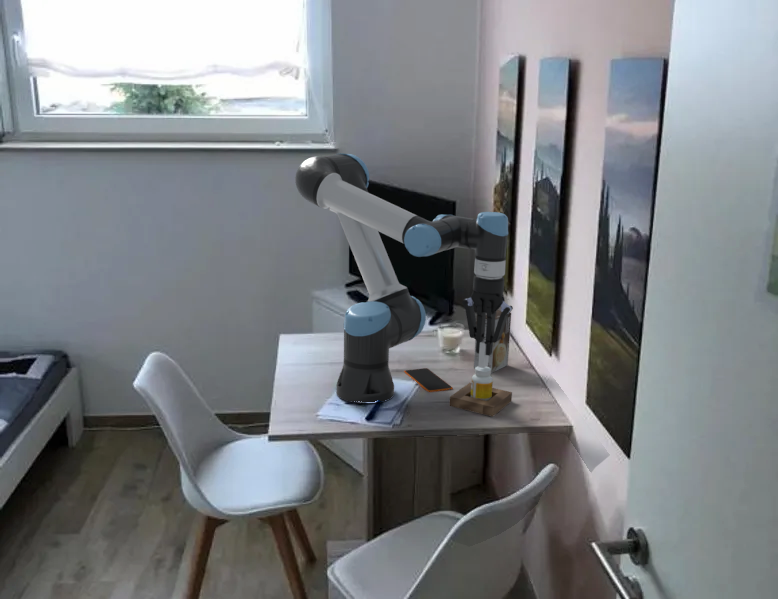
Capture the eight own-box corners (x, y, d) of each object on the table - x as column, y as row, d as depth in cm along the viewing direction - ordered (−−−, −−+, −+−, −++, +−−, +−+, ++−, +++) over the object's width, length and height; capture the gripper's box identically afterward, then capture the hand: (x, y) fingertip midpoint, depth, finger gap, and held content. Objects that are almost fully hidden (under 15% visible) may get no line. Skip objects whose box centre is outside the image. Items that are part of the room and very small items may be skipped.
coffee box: (489, 360, 249) (492, 308, 245) (508, 365, 245) (512, 312, 241) (472, 368, 242) (476, 314, 238) (492, 373, 238) (495, 319, 234)
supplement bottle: (465, 402, 217) (467, 367, 214) (480, 398, 220) (482, 363, 218) (480, 409, 213) (483, 373, 210) (495, 404, 216) (497, 369, 214)
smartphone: (427, 370, 241) (427, 367, 240) (453, 390, 226) (453, 387, 226) (402, 372, 238) (402, 369, 237) (428, 394, 223) (428, 391, 223)
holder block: (449, 405, 215) (449, 396, 214) (469, 391, 225) (469, 382, 224) (492, 416, 209) (493, 407, 208) (511, 401, 219) (512, 392, 218)
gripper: (458, 274, 208) (453, 365, 214) (508, 282, 201) (501, 375, 208) (471, 269, 214) (466, 357, 220) (519, 276, 208) (512, 367, 214)
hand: (483, 366), depth 214 cm, fingers closed
